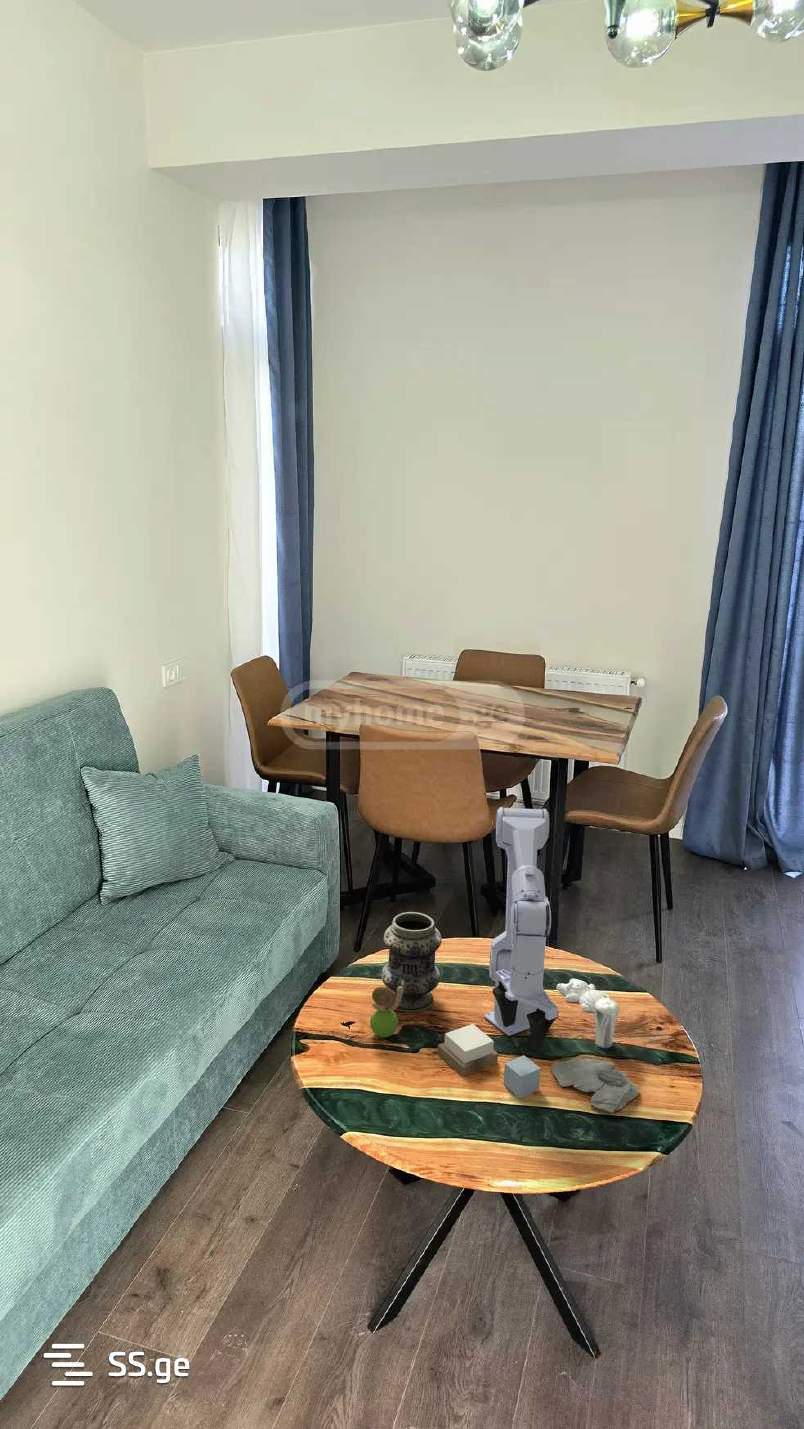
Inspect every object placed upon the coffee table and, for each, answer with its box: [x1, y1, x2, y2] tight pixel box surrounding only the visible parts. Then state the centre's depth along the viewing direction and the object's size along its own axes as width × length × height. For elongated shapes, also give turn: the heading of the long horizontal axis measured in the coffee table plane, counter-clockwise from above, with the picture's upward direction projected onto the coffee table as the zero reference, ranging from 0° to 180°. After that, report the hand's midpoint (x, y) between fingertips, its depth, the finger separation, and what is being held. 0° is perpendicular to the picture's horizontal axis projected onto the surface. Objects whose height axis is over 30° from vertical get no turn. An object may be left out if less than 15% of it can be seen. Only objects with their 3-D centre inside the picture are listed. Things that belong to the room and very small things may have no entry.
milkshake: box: [592, 998, 620, 1049], centre depth 183 cm, size 4×5×10 cm
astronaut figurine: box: [556, 978, 612, 1013], centre depth 200 cm, size 9×12×3 cm
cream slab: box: [443, 1023, 495, 1063], centre depth 178 cm, size 6×6×2 cm
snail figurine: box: [369, 981, 404, 1038], centre depth 183 cm, size 5×6×12 cm
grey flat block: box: [437, 1042, 499, 1077], centre depth 178 cm, size 8×8×2 cm
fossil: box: [550, 1057, 640, 1113], centre depth 172 cm, size 17×11×2 cm
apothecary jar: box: [380, 911, 443, 1014], centre depth 195 cm, size 12×12×18 cm
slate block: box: [503, 1055, 542, 1099], centre depth 170 cm, size 4×4×4 cm
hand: (522, 1035), depth 168 cm, fingers open, 7 cm apart
